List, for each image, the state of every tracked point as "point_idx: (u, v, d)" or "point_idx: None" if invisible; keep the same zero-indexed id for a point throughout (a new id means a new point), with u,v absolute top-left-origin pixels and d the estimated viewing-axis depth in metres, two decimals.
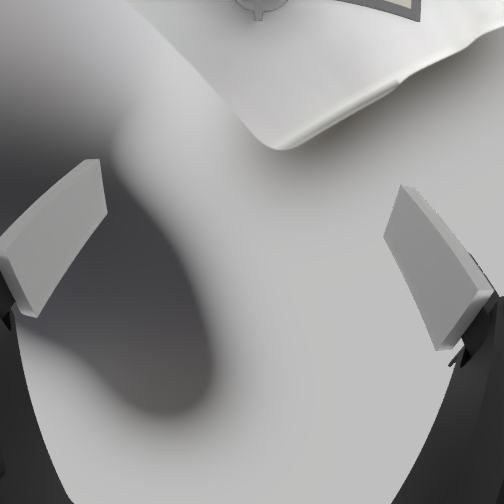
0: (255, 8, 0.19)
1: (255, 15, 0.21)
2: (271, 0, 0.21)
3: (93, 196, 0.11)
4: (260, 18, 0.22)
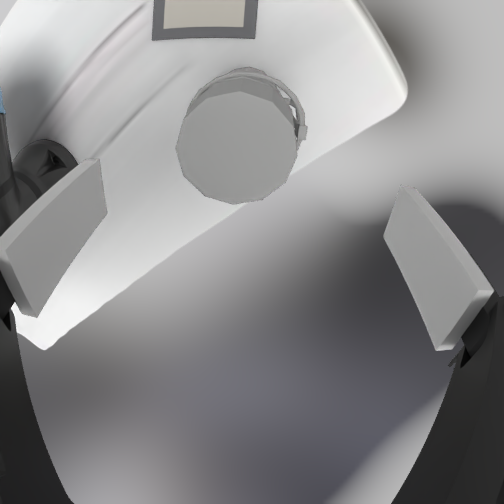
0: (297, 114, 0.26)
1: None
2: None
3: (93, 196, 0.11)
4: None
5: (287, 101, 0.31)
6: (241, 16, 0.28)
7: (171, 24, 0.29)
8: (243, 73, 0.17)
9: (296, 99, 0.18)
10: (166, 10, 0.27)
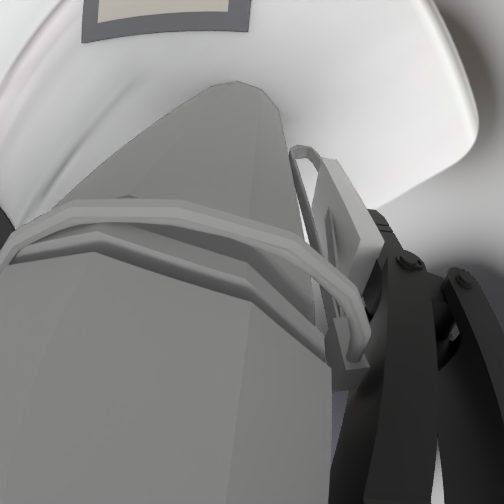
0: None
1: None
2: None
3: None
4: None
5: (302, 151, 0.18)
6: None
7: (109, 15, 0.15)
8: (100, 213, 0.03)
9: (356, 303, 0.05)
10: None
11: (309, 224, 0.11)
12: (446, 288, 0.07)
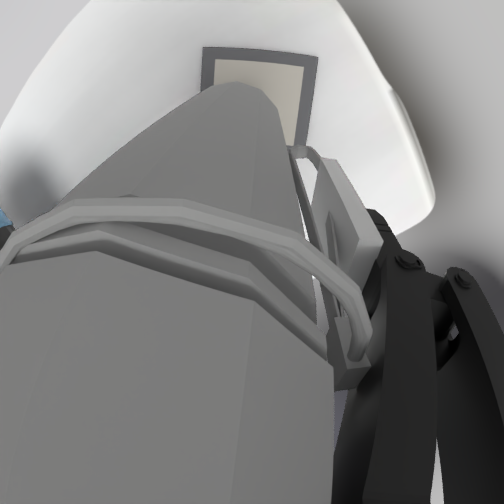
0: None
1: None
2: None
3: None
4: None
5: (302, 151, 0.18)
6: (292, 133, 0.34)
7: None
8: (102, 212, 0.03)
9: (357, 302, 0.05)
10: None
11: (309, 224, 0.11)
12: (445, 288, 0.07)
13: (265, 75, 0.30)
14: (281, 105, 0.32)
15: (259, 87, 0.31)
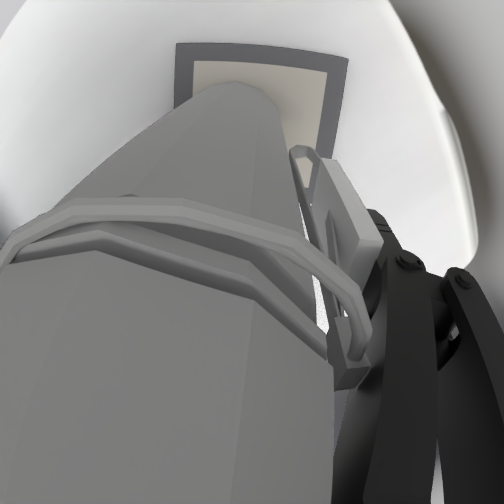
0: None
1: None
2: None
3: None
4: None
5: (302, 151, 0.18)
6: (308, 170, 0.25)
7: None
8: (102, 211, 0.03)
9: (357, 302, 0.05)
10: None
11: (309, 223, 0.11)
12: (445, 288, 0.07)
13: (269, 84, 0.20)
14: (293, 129, 0.23)
15: None
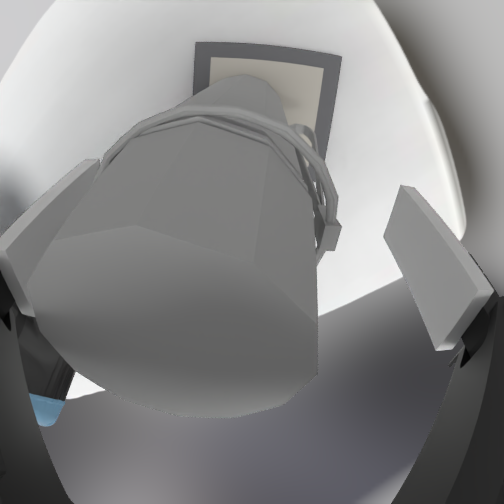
0: None
1: None
2: None
3: None
4: None
5: (299, 129, 0.22)
6: None
7: None
8: (200, 109, 0.07)
9: (324, 169, 0.09)
10: None
11: (302, 166, 0.15)
12: None
13: (274, 78, 0.24)
14: (294, 116, 0.26)
15: None
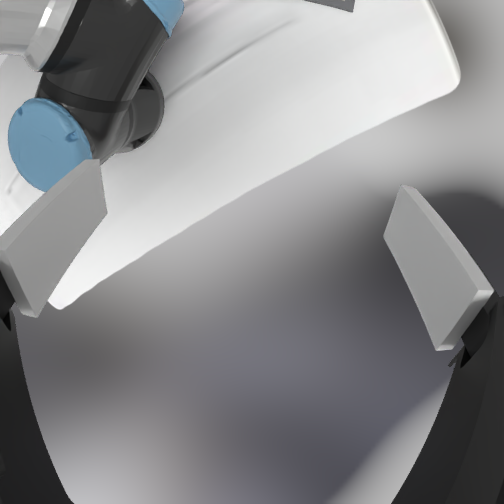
0: None
1: None
2: None
3: (93, 196, 0.11)
4: None
5: None
6: None
7: None
8: None
9: None
10: None
11: None
12: None
13: None
14: None
15: None
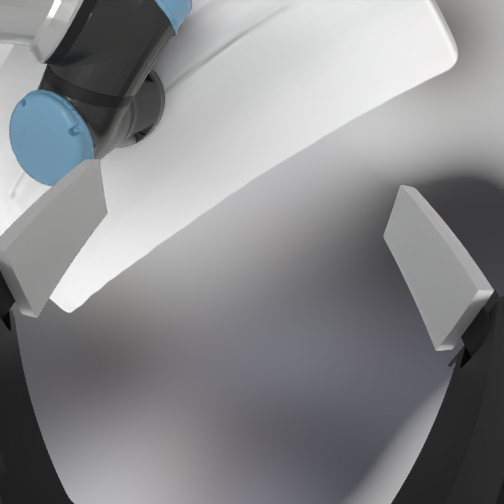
0: None
1: None
2: None
3: (93, 196, 0.11)
4: None
5: None
6: None
7: None
8: None
9: None
10: None
11: None
12: None
13: None
14: None
15: None
